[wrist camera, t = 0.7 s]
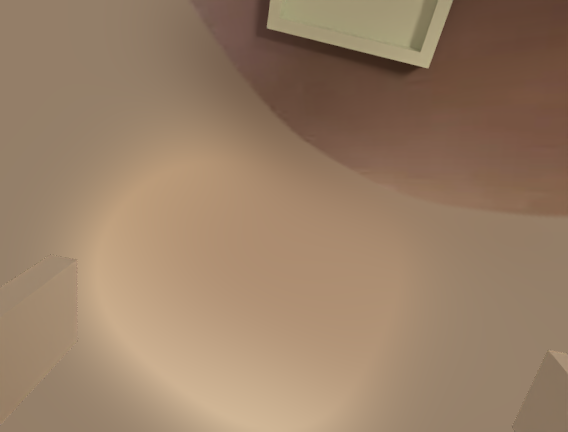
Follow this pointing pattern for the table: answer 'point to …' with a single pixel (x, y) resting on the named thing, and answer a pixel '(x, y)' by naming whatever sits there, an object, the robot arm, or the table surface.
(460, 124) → the table surface
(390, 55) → the tray
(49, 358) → the robot arm
